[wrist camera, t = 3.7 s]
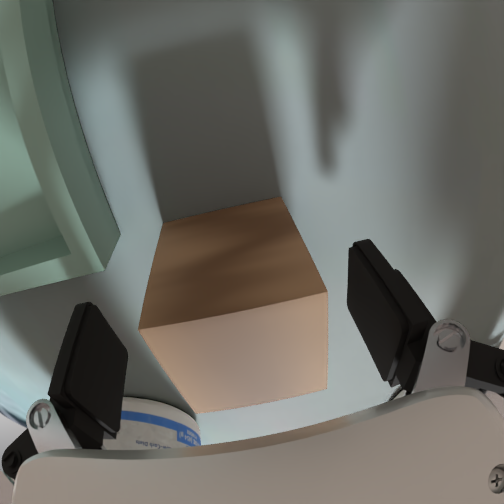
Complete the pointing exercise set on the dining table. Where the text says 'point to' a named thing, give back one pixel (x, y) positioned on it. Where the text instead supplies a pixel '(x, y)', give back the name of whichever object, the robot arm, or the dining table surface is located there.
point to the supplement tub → (153, 427)
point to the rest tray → (44, 161)
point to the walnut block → (237, 308)
